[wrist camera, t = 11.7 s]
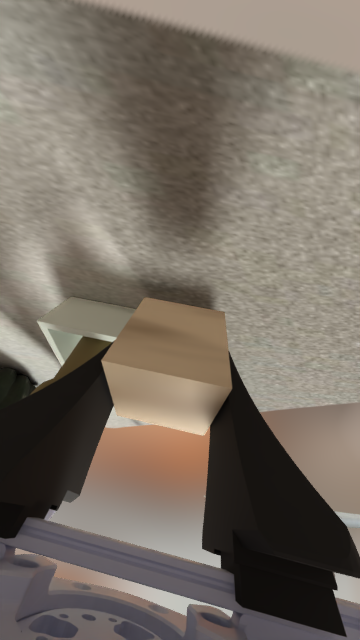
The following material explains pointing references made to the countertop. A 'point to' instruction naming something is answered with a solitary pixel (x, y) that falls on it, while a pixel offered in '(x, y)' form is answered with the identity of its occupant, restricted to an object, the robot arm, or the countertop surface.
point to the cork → (77, 358)
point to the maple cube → (170, 366)
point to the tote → (82, 324)
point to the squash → (13, 387)
